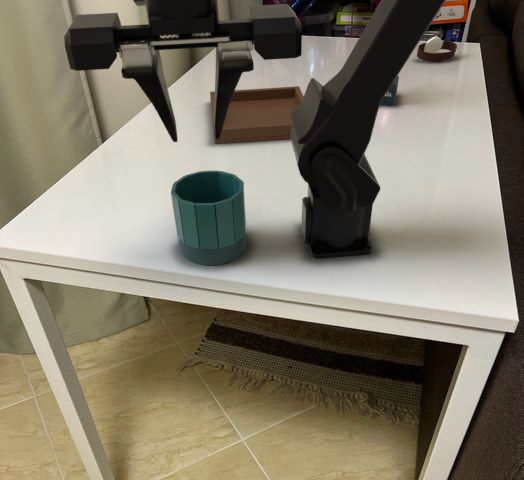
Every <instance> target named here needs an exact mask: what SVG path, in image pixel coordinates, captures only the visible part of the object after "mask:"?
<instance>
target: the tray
mask: <svg viewBox="0 0 524 480" xmlns="http://www.w3.org/2000/svg"><path fill="white" fill-rule="evenodd" d="M303 97H304V93H303V92H302V90H301V87H300V86H299V85H296V86H282V87H267V88H266V87H265V88H252V89H251V88H250V89H249V88H247V89H235V91H234V93H233V96H232V98H231V101H230V104H229V107H228V111H227V114H226V118H225V122H224V125H223V129H222V133H221V136H220V139H215V128H214V100H215V90H214V91H213V90H212V91H209V98H210V108H211V109H210V110H211V118H212V119H211V120H212V129H213V140H214V144H216V145H217V144H218V145H219V144H232V143H246V142H247V143H248V142H259V141H261V142H262V141H276V140H277V141H278V140H291V136H290V134H291V128H292V125H293V123H292V120H291V116H290V114H291V113H292V112H293V111H294V110H295V109H296V108H297V107H298V106H299V104H300V103H301V101H302V99H303Z"/></svg>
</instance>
